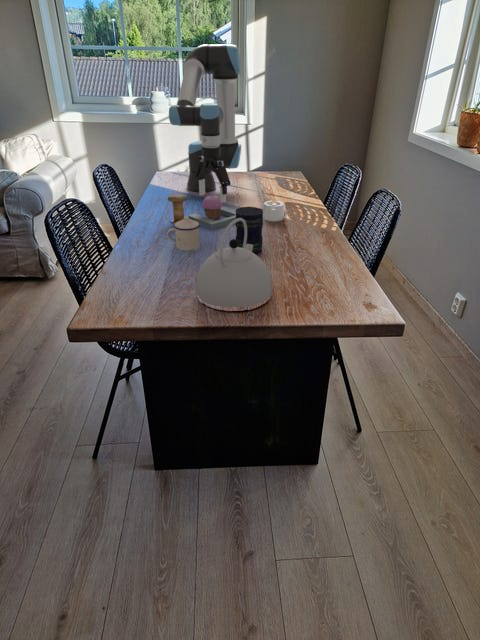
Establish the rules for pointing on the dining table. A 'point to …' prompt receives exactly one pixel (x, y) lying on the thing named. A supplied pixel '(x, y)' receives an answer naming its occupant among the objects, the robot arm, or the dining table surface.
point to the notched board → (212, 223)
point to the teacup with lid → (186, 234)
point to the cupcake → (212, 207)
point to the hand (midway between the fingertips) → (212, 198)
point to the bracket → (274, 211)
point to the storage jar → (250, 227)
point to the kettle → (234, 275)
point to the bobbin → (177, 206)
